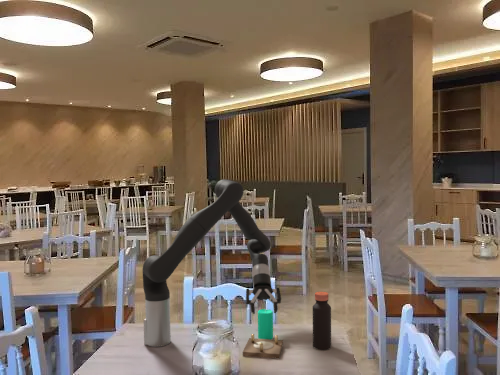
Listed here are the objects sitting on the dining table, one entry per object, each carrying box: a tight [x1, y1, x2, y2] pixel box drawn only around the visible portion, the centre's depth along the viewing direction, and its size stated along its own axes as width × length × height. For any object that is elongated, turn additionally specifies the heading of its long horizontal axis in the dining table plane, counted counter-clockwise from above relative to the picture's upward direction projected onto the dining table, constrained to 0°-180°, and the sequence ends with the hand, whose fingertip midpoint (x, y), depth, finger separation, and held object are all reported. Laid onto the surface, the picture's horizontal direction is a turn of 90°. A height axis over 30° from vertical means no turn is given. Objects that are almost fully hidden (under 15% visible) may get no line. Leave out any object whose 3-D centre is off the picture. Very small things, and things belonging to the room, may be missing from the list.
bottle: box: [312, 291, 332, 351], centre depth 166 cm, size 7×7×20 cm
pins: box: [250, 333, 279, 352], centre depth 163 cm, size 10×9×3 cm
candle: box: [257, 308, 274, 340], centre depth 176 cm, size 6×6×12 cm
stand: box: [242, 337, 284, 359], centre depth 165 cm, size 13×13×2 cm
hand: (264, 312), depth 179 cm, fingers open, 8 cm apart
